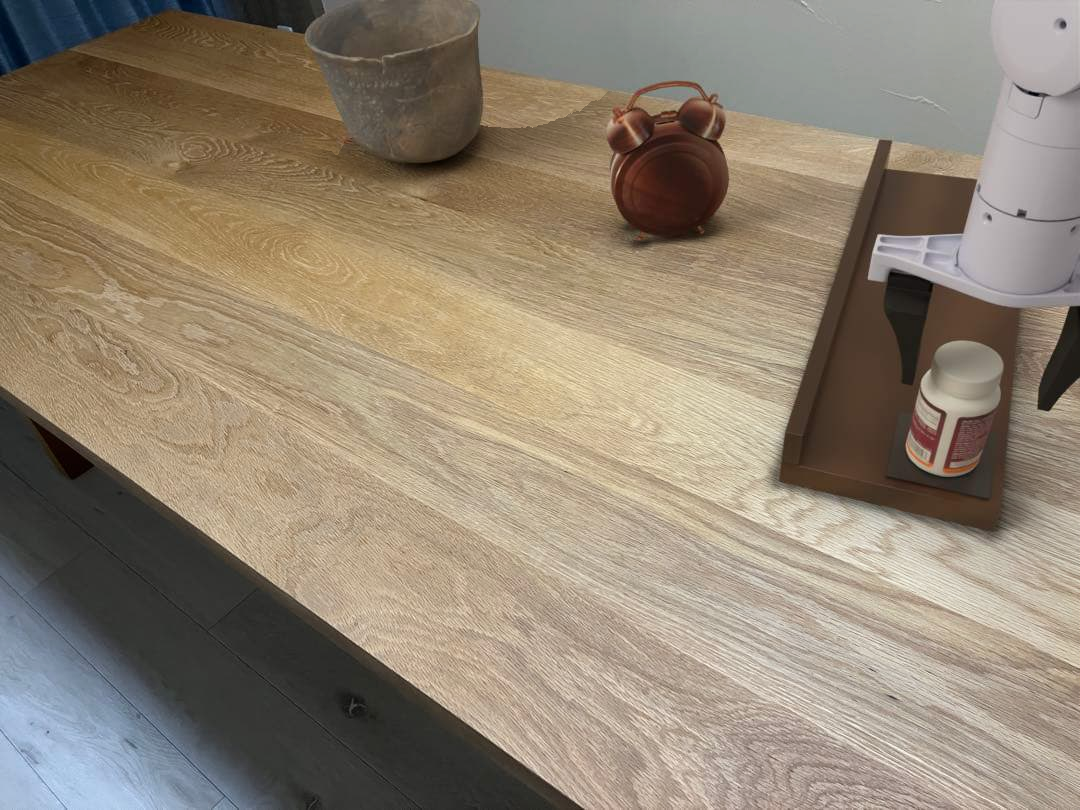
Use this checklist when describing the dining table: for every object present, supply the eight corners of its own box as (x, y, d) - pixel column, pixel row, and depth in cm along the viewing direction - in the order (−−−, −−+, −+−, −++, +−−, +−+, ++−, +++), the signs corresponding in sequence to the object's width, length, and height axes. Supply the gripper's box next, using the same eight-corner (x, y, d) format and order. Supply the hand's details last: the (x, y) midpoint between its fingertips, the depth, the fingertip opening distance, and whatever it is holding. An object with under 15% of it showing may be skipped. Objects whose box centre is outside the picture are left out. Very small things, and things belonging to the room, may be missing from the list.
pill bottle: (982, 437, 63) (1014, 344, 57) (974, 486, 60) (1007, 393, 54) (910, 421, 65) (934, 329, 59) (898, 468, 62) (922, 376, 56)
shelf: (1025, 204, 86) (1041, 155, 83) (993, 532, 60) (1013, 481, 57) (871, 185, 91) (879, 138, 87) (778, 481, 65) (784, 432, 61)
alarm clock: (717, 211, 90) (725, 63, 80) (728, 238, 87) (737, 87, 76) (607, 224, 90) (600, 77, 80) (613, 252, 87) (607, 102, 76)
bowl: (393, 212, 96) (360, 74, 85) (313, 156, 106) (275, 27, 96) (526, 148, 103) (510, 13, 92) (438, 102, 113) (416, -24, 103)
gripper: (1196, 169, 47) (1108, 368, 56) (898, 138, 52) (863, 325, 61) (1206, 245, 42) (1108, 447, 52) (878, 203, 47) (844, 394, 57)
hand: (974, 386), depth 56 cm, fingers open, 7 cm apart
